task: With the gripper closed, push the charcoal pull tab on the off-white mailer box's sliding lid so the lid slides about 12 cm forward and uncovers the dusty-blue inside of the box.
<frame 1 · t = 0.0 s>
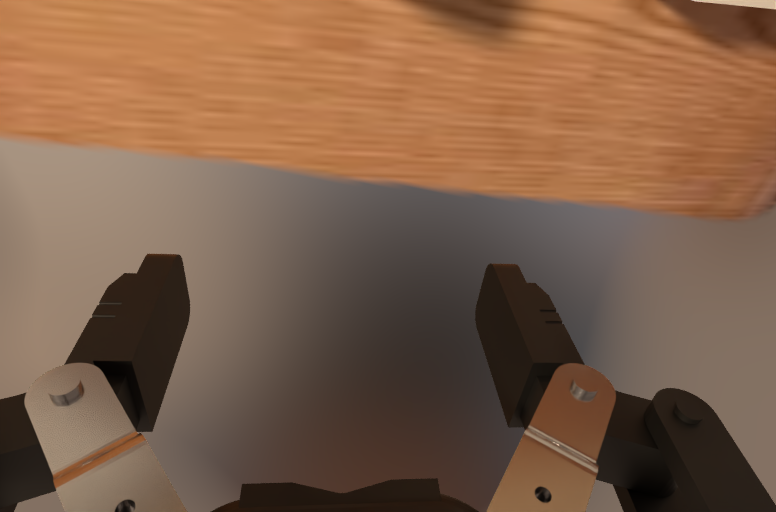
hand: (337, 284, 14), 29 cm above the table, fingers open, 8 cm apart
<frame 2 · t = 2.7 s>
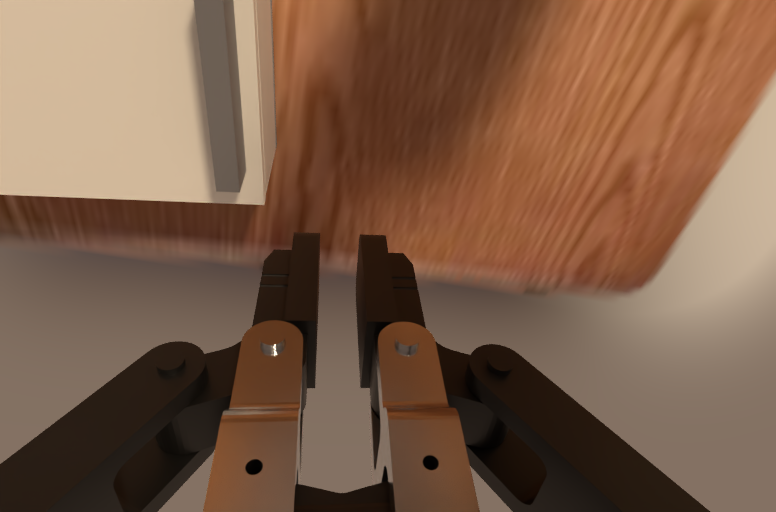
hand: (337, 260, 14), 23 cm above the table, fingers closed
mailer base: (107, 29, 31), on the table
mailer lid: (39, 74, 24), point 9 cm above the table, slide at 0.0 cm
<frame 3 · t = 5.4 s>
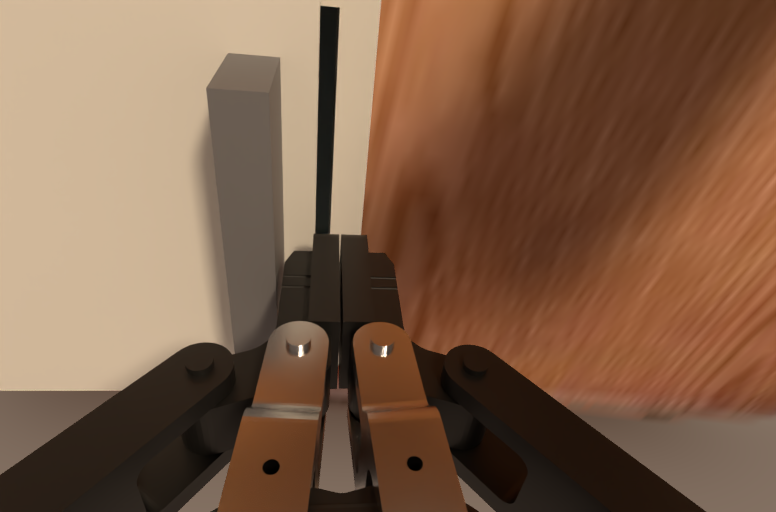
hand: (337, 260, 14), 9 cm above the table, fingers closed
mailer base: (108, 113, 20), on the table
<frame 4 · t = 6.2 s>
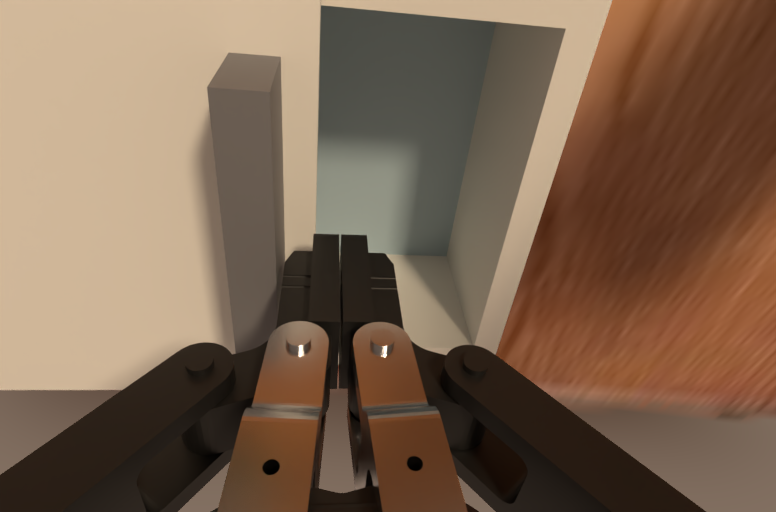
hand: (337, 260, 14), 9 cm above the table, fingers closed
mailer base: (257, 122, 21), on the table
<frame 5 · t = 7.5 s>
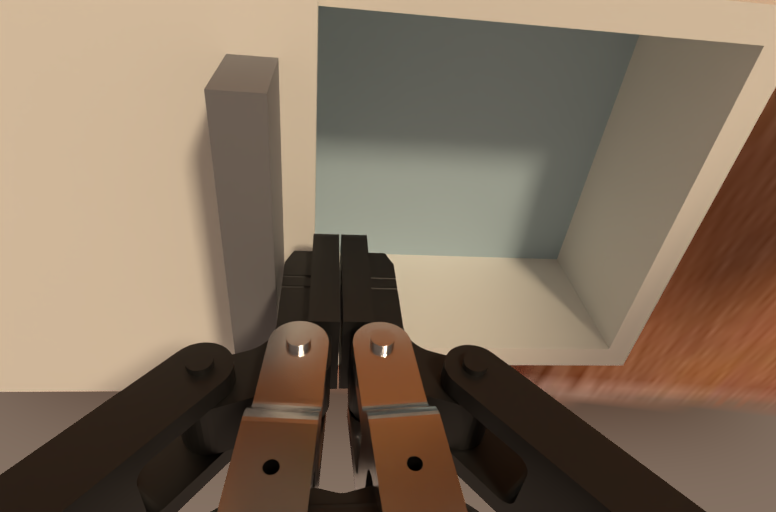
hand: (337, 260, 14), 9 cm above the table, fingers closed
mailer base: (393, 131, 22), on the table
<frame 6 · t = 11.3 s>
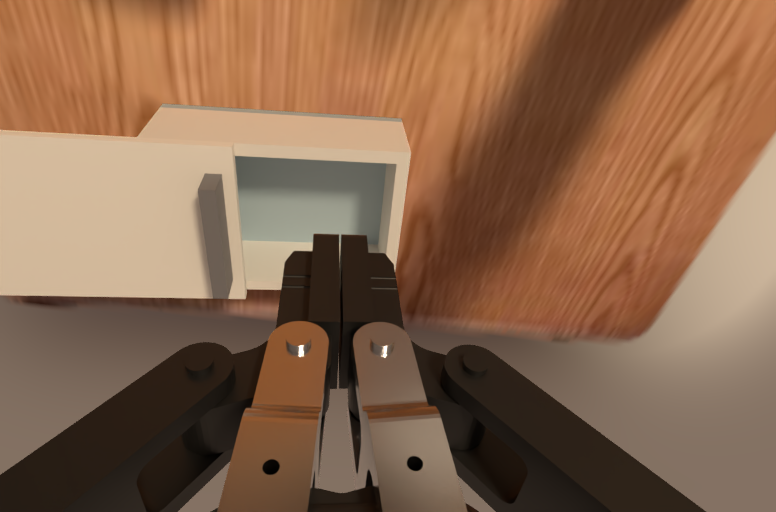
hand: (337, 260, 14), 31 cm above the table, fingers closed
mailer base: (287, 184, 47), on the table
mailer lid: (102, 232, 38), point 9 cm above the table, slide at 13.2 cm
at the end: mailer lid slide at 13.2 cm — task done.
